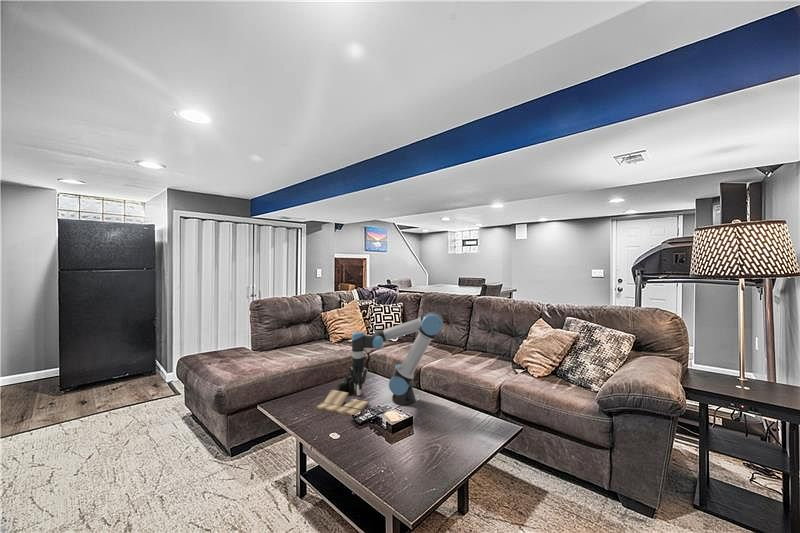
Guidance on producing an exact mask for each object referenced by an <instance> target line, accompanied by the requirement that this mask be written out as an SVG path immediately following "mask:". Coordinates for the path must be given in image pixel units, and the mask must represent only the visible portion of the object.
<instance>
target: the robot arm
mask: <svg viewBox="0 0 800 533" xmlns="http://www.w3.org/2000/svg"><path fill="white" fill-rule="evenodd" d="M443 324H444V317H443V315H442V314H441V313H440V312H438V311H436V310H432V311H429V312H426V313H425V314H422V315H420V316H419V317H418V318H415V319H412V320H408V321H406V322H403V323H400V324H396V325H394V326H391V327H387V328H385V329H382V330H377V331H375V332H374V333H373V334H372V335H365V333H364V331H354V332H352V333H351V356H352V358H351V362H352V364H351V366H350V367H348V371H349V372H350V377H352V382H353V383H354V386H355V390H356V396H360V395H362V389H363V384H364V383H365V382H366V378H367V373H368V371H369V368H368V367H367V368H366V366H365V349H376V350H377V349H382V348H383V345H384V342H388V341H391V340H393V339H398V338H399V337H403V336H406V335H410V334H413V333H416V332H418V334H417V336H416V337H415V340H414V341H413V343H412V345H411V346H410V349H409V350H408V352H407V354H406V356H405V358H404V359H403V361H402V363H401V364H396V365H395V367H394V373H393V375H392V377H391V378H390V380H389V381H388V388H389V391H391V393H392V396H391V401H392V403H394V404H396V405H398V406H399V405H400V406H409V405H413V404H414V403H415V402H416V394H415V391H414V388H413V387H414V384H413V383H414V382H413V381H414V378H415V376H414V375H415V374H414V373H415V371H416V369H417V367H418V365H419V364H420V362H421V360H422V358H423V356H424V355H425V353H426V351H427V349H428V347H429V345H430V344H431V343H432V342H431V341H434V340H435V339H436V338H437V336H438V334H439V332H441V330H442V327H443Z"/></svg>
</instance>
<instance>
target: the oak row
mask: <svg viewBox="0 0 800 533" xmlns="http://www.w3.org/2000/svg"><path fill="white" fill-rule="evenodd" d="M316 409H317V410H322V411H326V412H330V413H331V412H332V413H336V414H340V415H346V416H351V417H353V416H352V415H354V414H357V413H359V412H361V411H362V412H363V410H359V409H354V408H349V407H344V405H342V406H338V405H333V404H328V403H324V401H322V402H321V403H320V404H319V403H318V405H316Z"/></svg>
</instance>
